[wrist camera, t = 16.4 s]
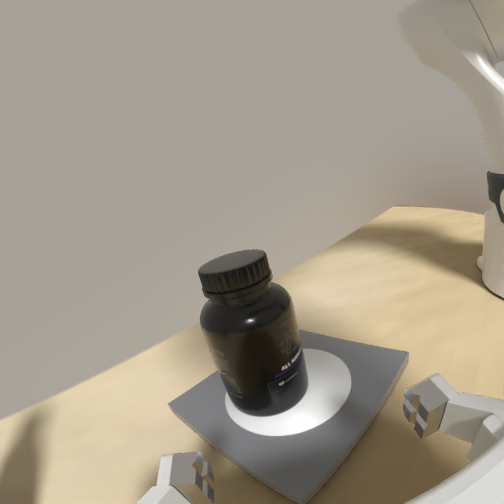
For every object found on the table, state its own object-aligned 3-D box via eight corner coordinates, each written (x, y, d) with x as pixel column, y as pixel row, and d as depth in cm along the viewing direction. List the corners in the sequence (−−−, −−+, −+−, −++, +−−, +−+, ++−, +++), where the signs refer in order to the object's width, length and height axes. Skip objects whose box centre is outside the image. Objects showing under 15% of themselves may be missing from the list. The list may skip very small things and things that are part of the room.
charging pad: (280, 332, 34) (278, 323, 33) (408, 361, 22) (408, 350, 22) (172, 412, 24) (166, 402, 23) (303, 506, 12) (300, 499, 12)
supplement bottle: (317, 409, 19) (285, 263, 16) (229, 426, 19) (170, 291, 16) (303, 359, 25) (275, 237, 22) (234, 374, 26) (192, 258, 23)
